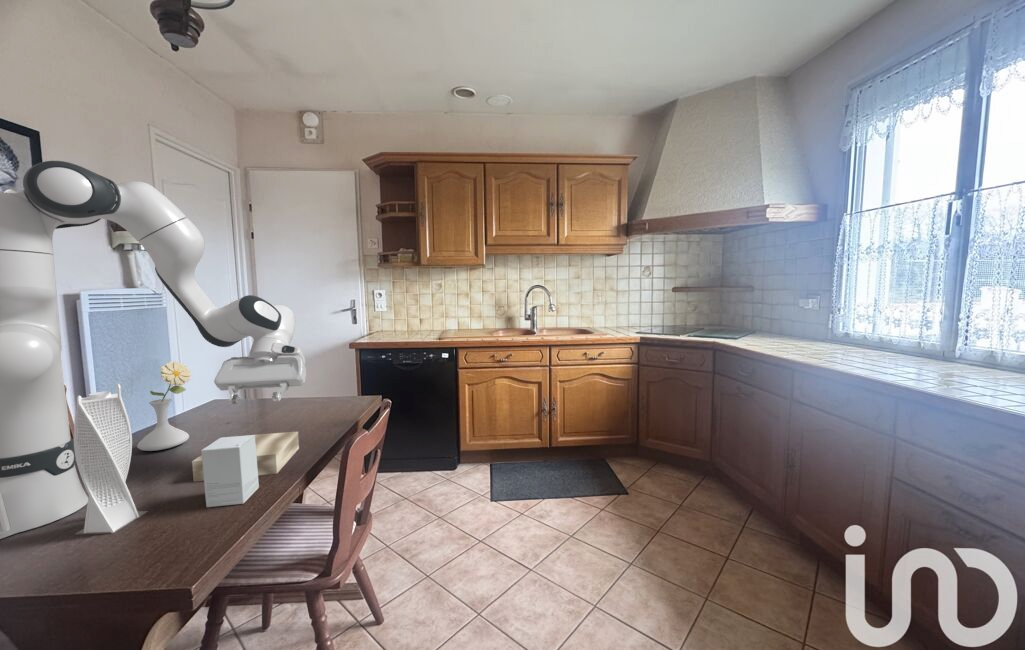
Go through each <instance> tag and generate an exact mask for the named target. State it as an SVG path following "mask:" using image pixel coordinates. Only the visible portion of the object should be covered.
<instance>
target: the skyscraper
mask: <svg viewBox="0 0 1025 650" xmlns="http://www.w3.org/2000/svg"><path fill="white" fill-rule="evenodd" d="M115 385H116V386H115V387H116V393H115V392H114V393H112V391H107V390H106V391H105V390H104V391H98V392H92V393H88V396H87V397H82V396H81V395H77V397H76V409H75V416H74V424H73V426H74V427H73V439H74V450H75V463H76V465H77V469H78V472H79V475H80V479H81V480H82V483H83V485H84V487H85V490H86V492H87V494H88V503H87V504H86V506H87V508H86V513H85V519H84V520H85V521H84V527H83V528H82V529H80V530H79V531H76V532H75V533H74V535H93V534H98V535H99V534H101V535H102V534H115V533H116V532H118V531H119V530H121V529H123V528H124V527H125V526H127V525H129V524H131V523H132V522H133V521H135V520H137V519H139V518H140V517H142V516H143V515H145V514H147V513H148V510H144V511H143V510H141V511H138V510H137V507H136V505H135V503H134V500H133V497H132V494H131V492H130V490H129V488H128V486H127V483H126V480H127V478H128V474H129V470H130V466H131V465H130V464H131V458H132V452H133V451H132V450H133V435H132V426H131V423H130V419H129V416H128V412H127V409H126V406H125V403H124V400H123V397H122V386H121V384H120V383H117V384H115Z"/></svg>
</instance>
